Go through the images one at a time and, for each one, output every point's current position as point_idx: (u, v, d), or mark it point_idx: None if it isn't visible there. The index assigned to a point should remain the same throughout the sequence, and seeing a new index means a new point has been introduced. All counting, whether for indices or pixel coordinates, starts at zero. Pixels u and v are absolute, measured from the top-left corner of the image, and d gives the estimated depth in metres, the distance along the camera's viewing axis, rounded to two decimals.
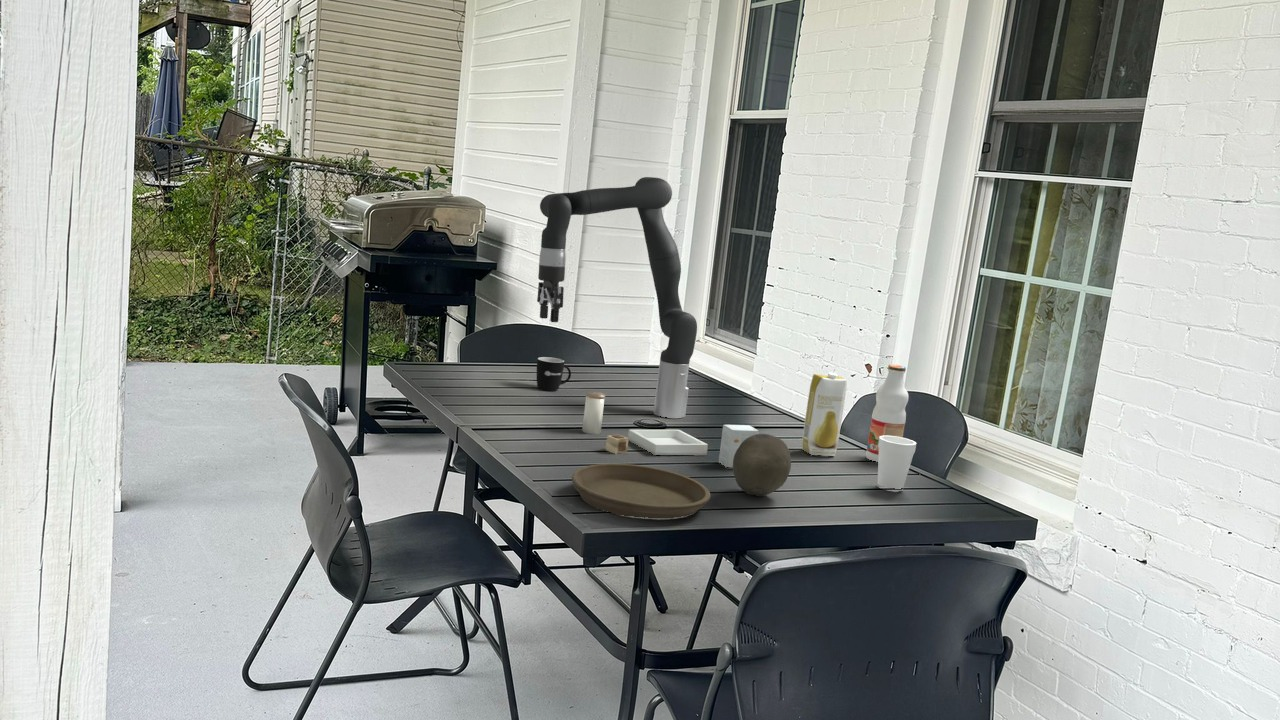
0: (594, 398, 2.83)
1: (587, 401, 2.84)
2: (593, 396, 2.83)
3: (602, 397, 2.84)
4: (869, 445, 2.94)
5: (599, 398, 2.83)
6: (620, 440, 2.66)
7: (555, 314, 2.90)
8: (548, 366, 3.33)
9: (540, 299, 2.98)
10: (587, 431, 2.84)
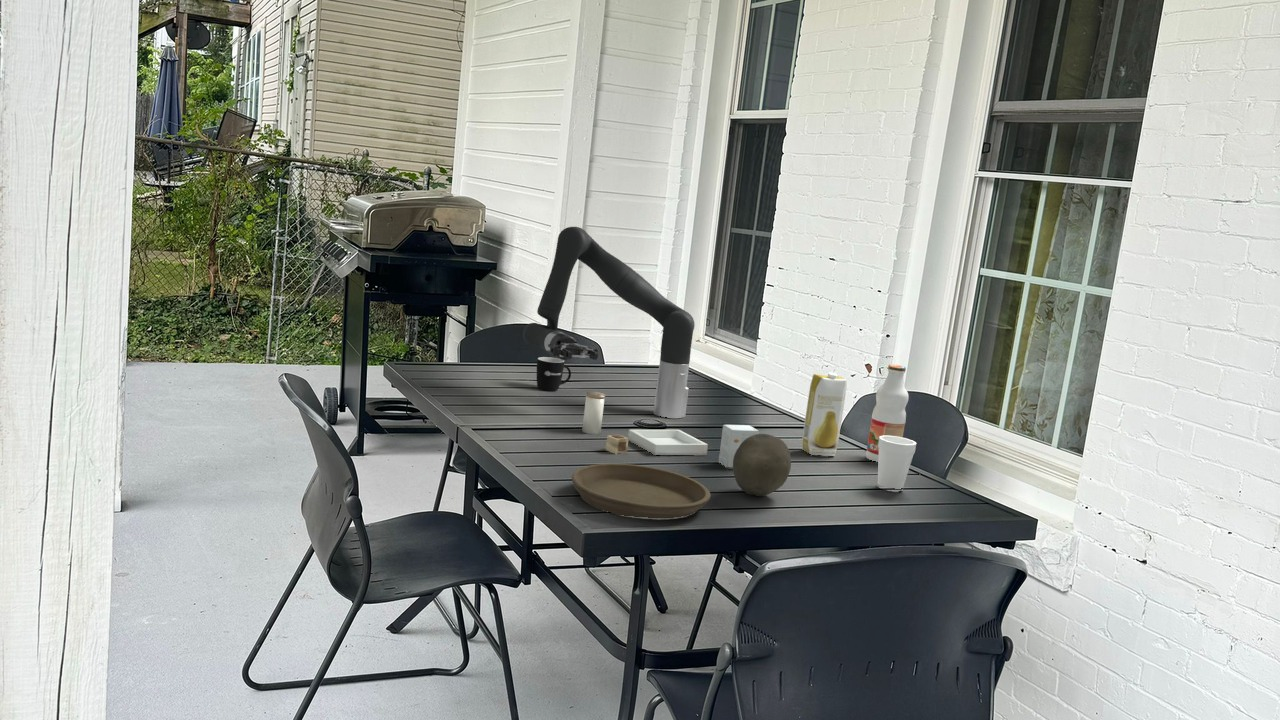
0: (594, 398, 2.83)
1: (587, 401, 2.84)
2: (593, 396, 2.83)
3: (602, 397, 2.84)
4: (869, 445, 2.94)
5: (599, 398, 2.83)
6: (620, 440, 2.66)
7: (562, 354, 2.93)
8: (548, 366, 3.33)
9: (588, 356, 3.00)
10: (587, 431, 2.84)
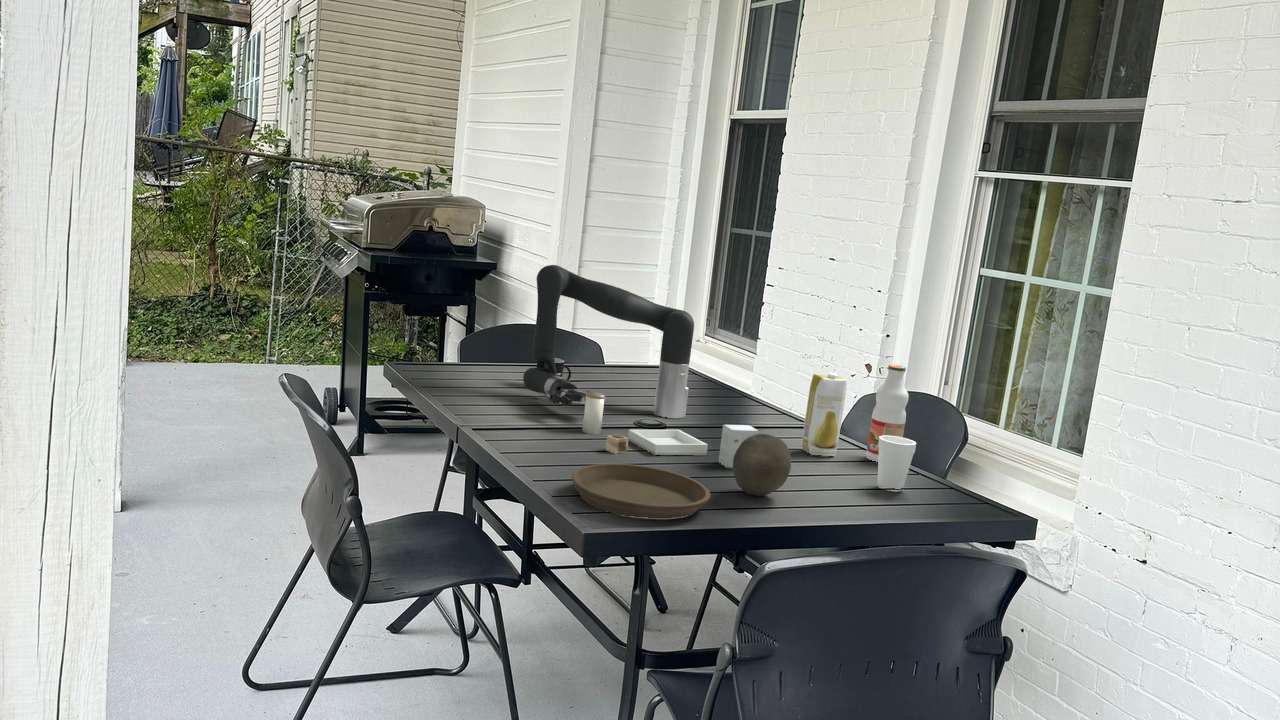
0: (594, 398, 2.83)
1: (587, 401, 2.84)
2: (593, 396, 2.83)
3: (602, 397, 2.84)
4: (869, 445, 2.94)
5: (599, 398, 2.83)
6: (620, 440, 2.66)
7: (562, 401, 2.92)
8: None
9: None
10: (587, 431, 2.84)
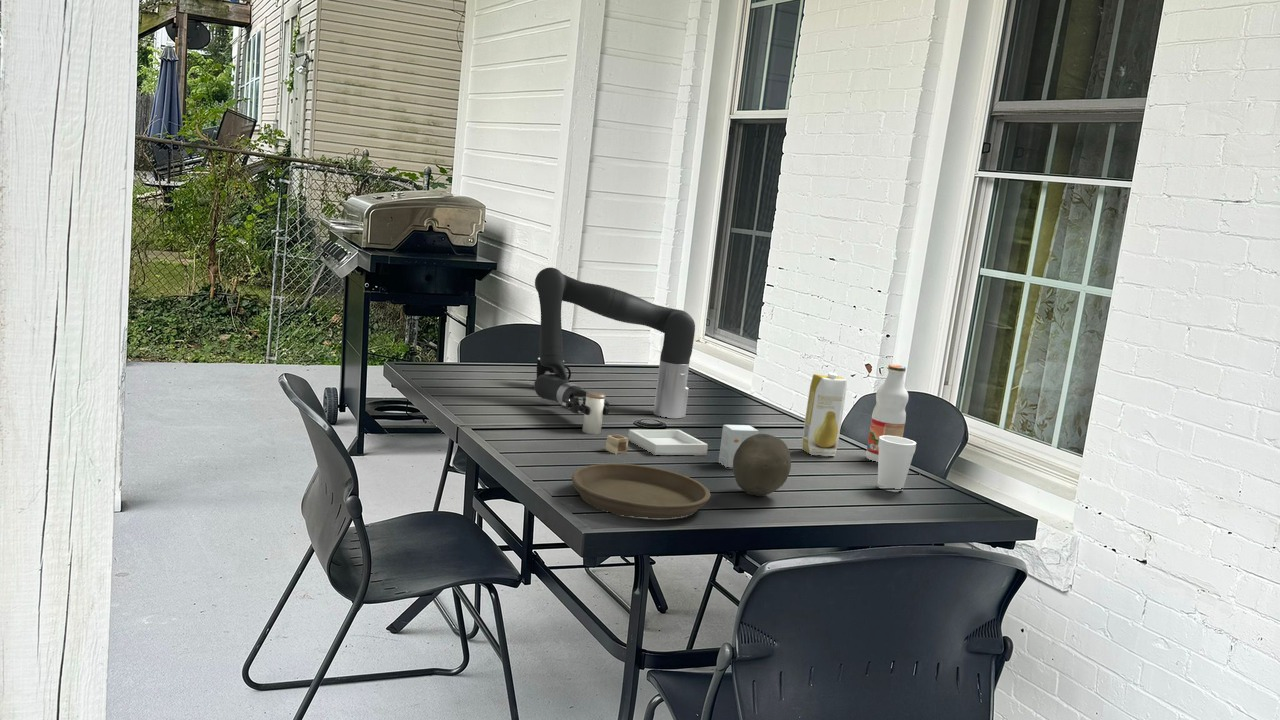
0: (594, 398, 2.83)
1: (587, 401, 2.84)
2: (593, 396, 2.83)
3: (602, 397, 2.84)
4: (869, 445, 2.94)
5: (599, 398, 2.83)
6: (620, 440, 2.66)
7: (581, 410, 2.84)
8: None
9: None
10: (587, 431, 2.84)
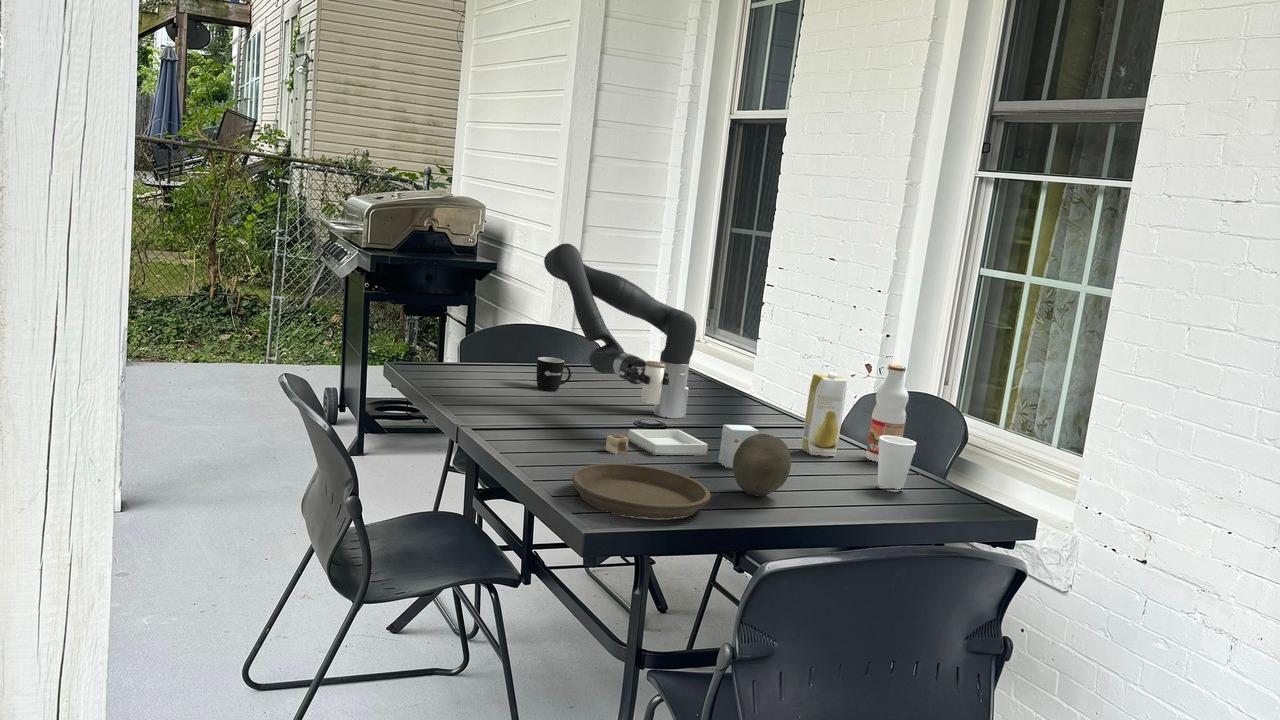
0: (654, 367, 2.75)
1: (647, 370, 2.76)
2: (653, 365, 2.75)
3: (662, 366, 2.76)
4: (869, 445, 2.94)
5: (659, 367, 2.75)
6: (620, 440, 2.66)
7: (641, 379, 2.76)
8: (548, 366, 3.33)
9: None
10: (646, 401, 2.77)
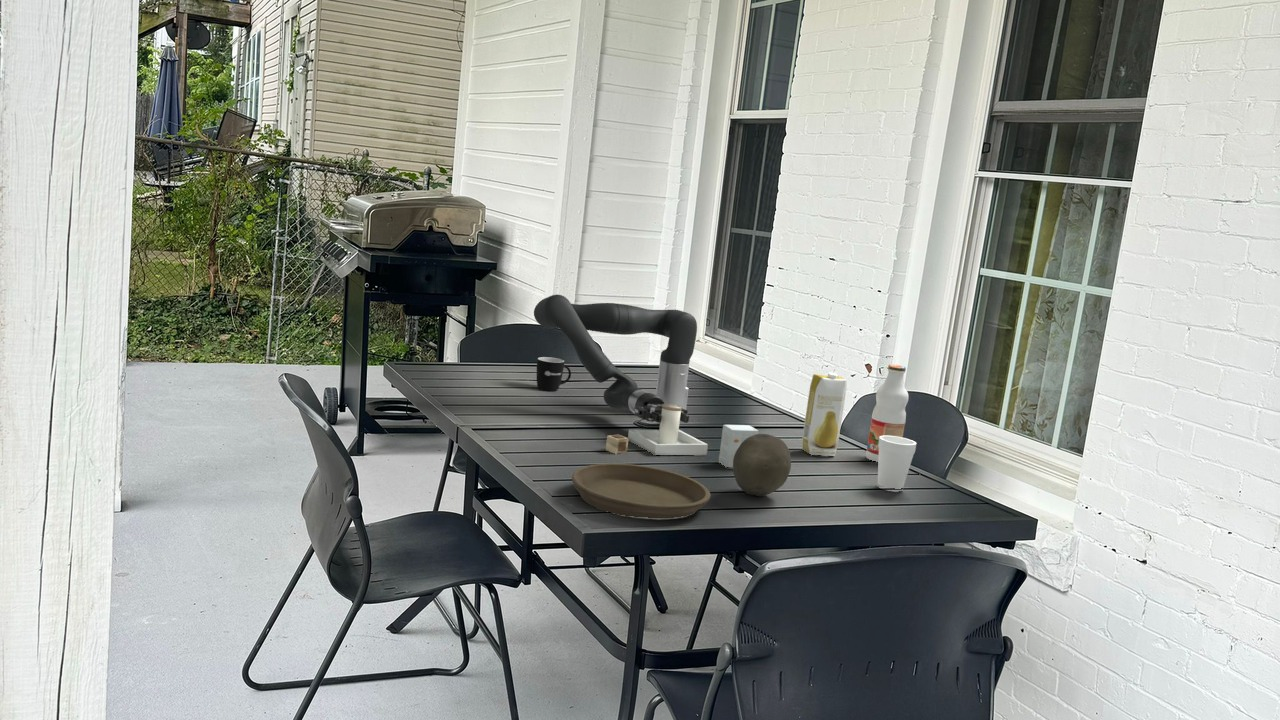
0: (671, 410, 2.75)
1: (663, 413, 2.76)
2: (670, 408, 2.75)
3: (679, 409, 2.76)
4: (869, 445, 2.94)
5: (676, 410, 2.75)
6: (620, 440, 2.66)
7: (652, 417, 2.76)
8: (548, 366, 3.33)
9: None
10: None
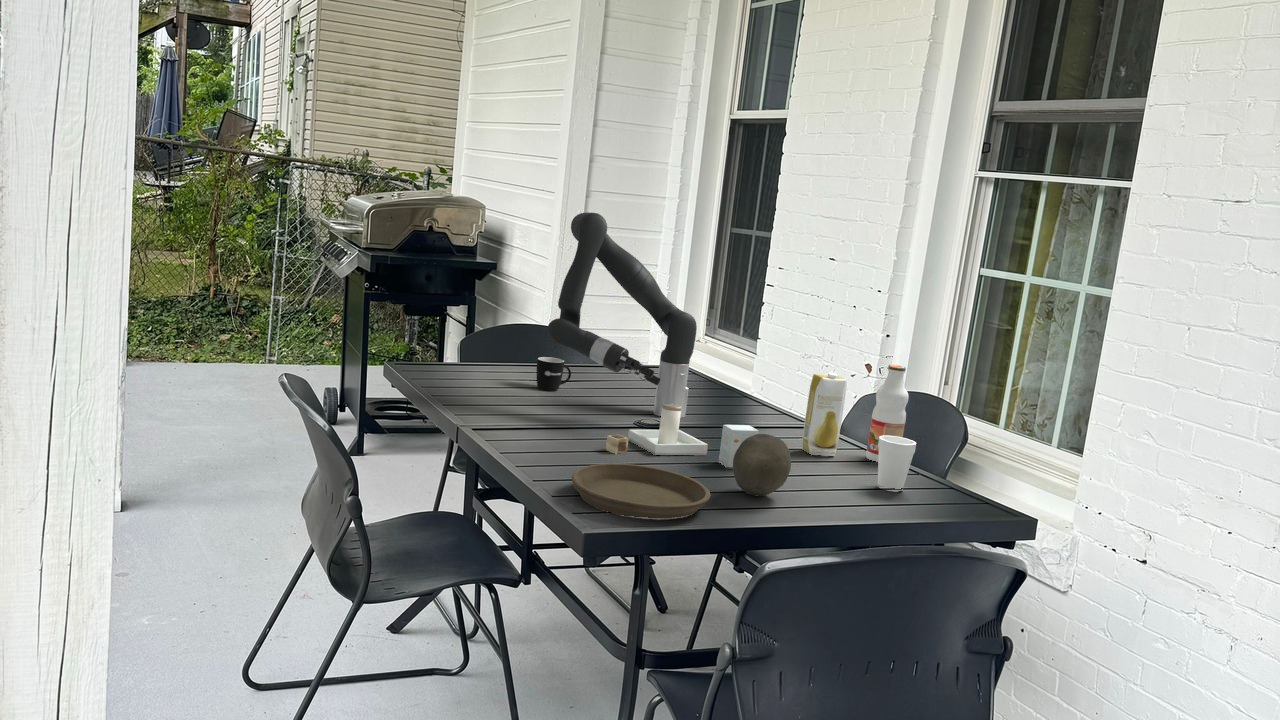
0: (671, 410, 2.75)
1: (663, 413, 2.76)
2: (670, 408, 2.75)
3: (679, 409, 2.76)
4: (869, 445, 2.94)
5: (676, 410, 2.75)
6: (620, 440, 2.66)
7: (644, 370, 2.88)
8: (548, 366, 3.33)
9: (641, 377, 2.98)
10: None
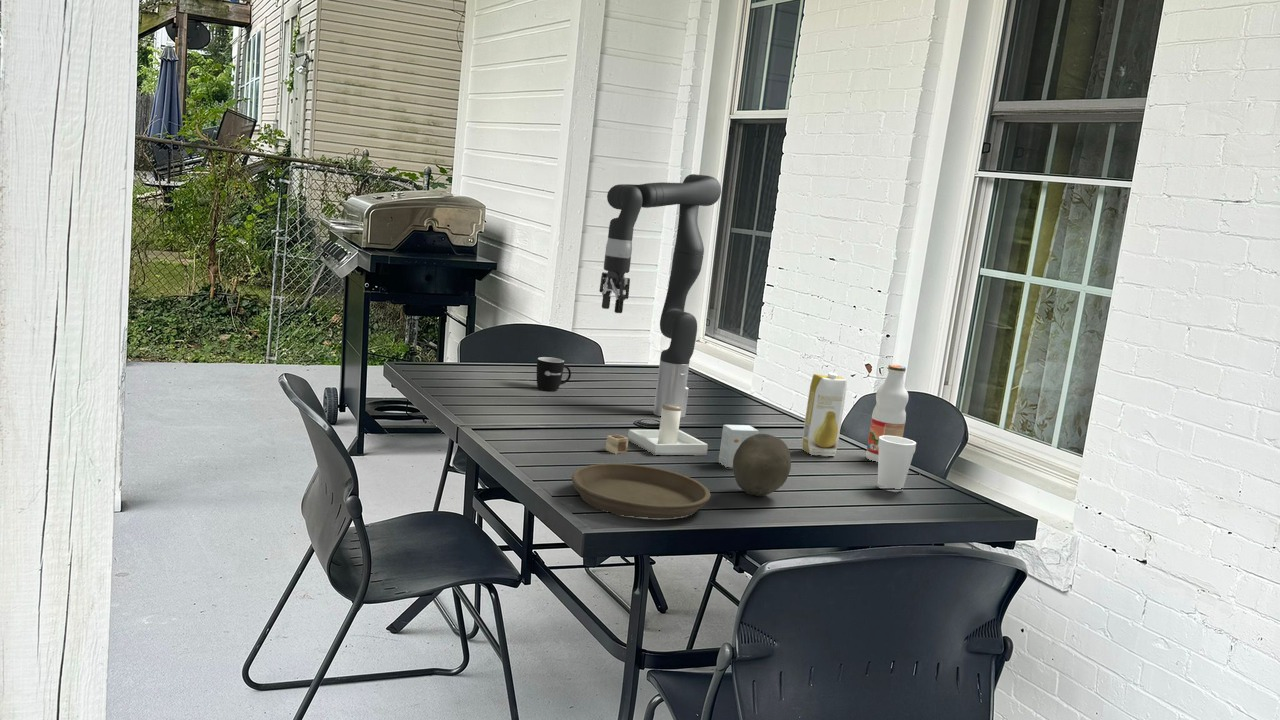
0: (671, 410, 2.75)
1: (663, 413, 2.76)
2: (670, 408, 2.75)
3: (679, 409, 2.76)
4: (869, 445, 2.94)
5: (676, 410, 2.75)
6: (620, 440, 2.66)
7: (620, 305, 2.91)
8: (548, 366, 3.33)
9: (603, 289, 2.98)
10: None
